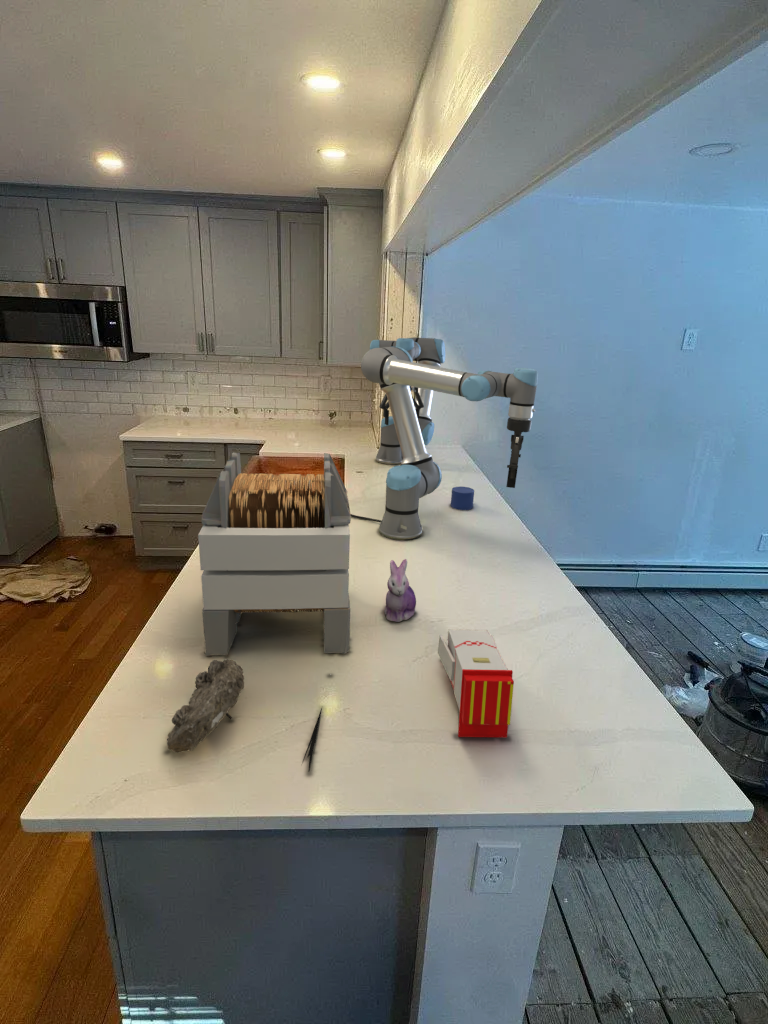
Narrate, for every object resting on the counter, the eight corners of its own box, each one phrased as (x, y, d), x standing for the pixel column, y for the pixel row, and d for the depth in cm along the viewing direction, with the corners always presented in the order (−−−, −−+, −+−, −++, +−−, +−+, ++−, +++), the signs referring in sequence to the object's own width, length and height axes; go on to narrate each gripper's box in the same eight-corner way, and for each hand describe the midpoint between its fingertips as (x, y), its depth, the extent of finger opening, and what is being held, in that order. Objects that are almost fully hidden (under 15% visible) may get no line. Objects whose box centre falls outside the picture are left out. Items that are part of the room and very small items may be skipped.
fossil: (192, 660, 117) (244, 628, 112) (224, 691, 120) (276, 661, 115) (142, 746, 98) (202, 712, 93) (182, 779, 101) (242, 748, 96)
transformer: (226, 586, 157) (217, 442, 143) (344, 585, 161) (346, 445, 147) (202, 658, 125) (189, 482, 112) (350, 654, 129) (354, 483, 115)
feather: (331, 679, 122) (336, 673, 122) (307, 777, 96) (313, 769, 95) (324, 675, 122) (329, 669, 121) (298, 772, 95) (304, 764, 95)
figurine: (392, 627, 141) (395, 572, 136) (374, 608, 149) (376, 556, 144) (425, 619, 145) (429, 566, 140) (405, 601, 154) (408, 550, 149)
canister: (455, 510, 226) (456, 493, 223) (447, 503, 234) (448, 486, 231) (476, 509, 228) (477, 492, 225) (467, 502, 236) (469, 486, 234)
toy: (488, 613, 130) (523, 677, 101) (484, 667, 133) (517, 744, 104) (435, 612, 130) (455, 676, 101) (432, 666, 133) (451, 743, 103)
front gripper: (531, 426, 169) (522, 493, 177) (532, 412, 192) (523, 473, 199) (506, 424, 171) (497, 490, 178) (509, 410, 194) (501, 470, 201)
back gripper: (378, 376, 238) (377, 426, 245) (433, 376, 246) (429, 424, 253) (373, 374, 245) (371, 423, 252) (426, 374, 253) (423, 421, 260)
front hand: (511, 481), depth 189 cm, fingers open, 13 cm apart
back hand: (400, 424), depth 253 cm, fingers open, 13 cm apart
